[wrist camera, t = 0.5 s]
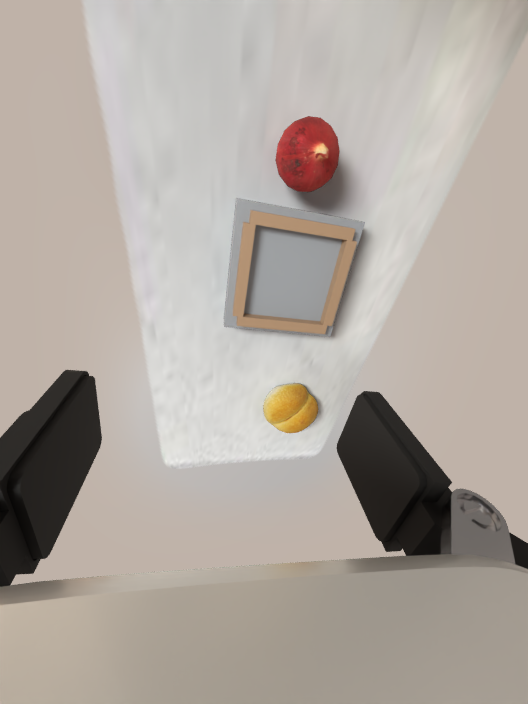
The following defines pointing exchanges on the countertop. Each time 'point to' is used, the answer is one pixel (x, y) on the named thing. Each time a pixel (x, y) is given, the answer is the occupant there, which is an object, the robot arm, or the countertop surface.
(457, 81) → the countertop surface
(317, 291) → the stand
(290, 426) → the bread roll
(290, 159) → the pomegranate
